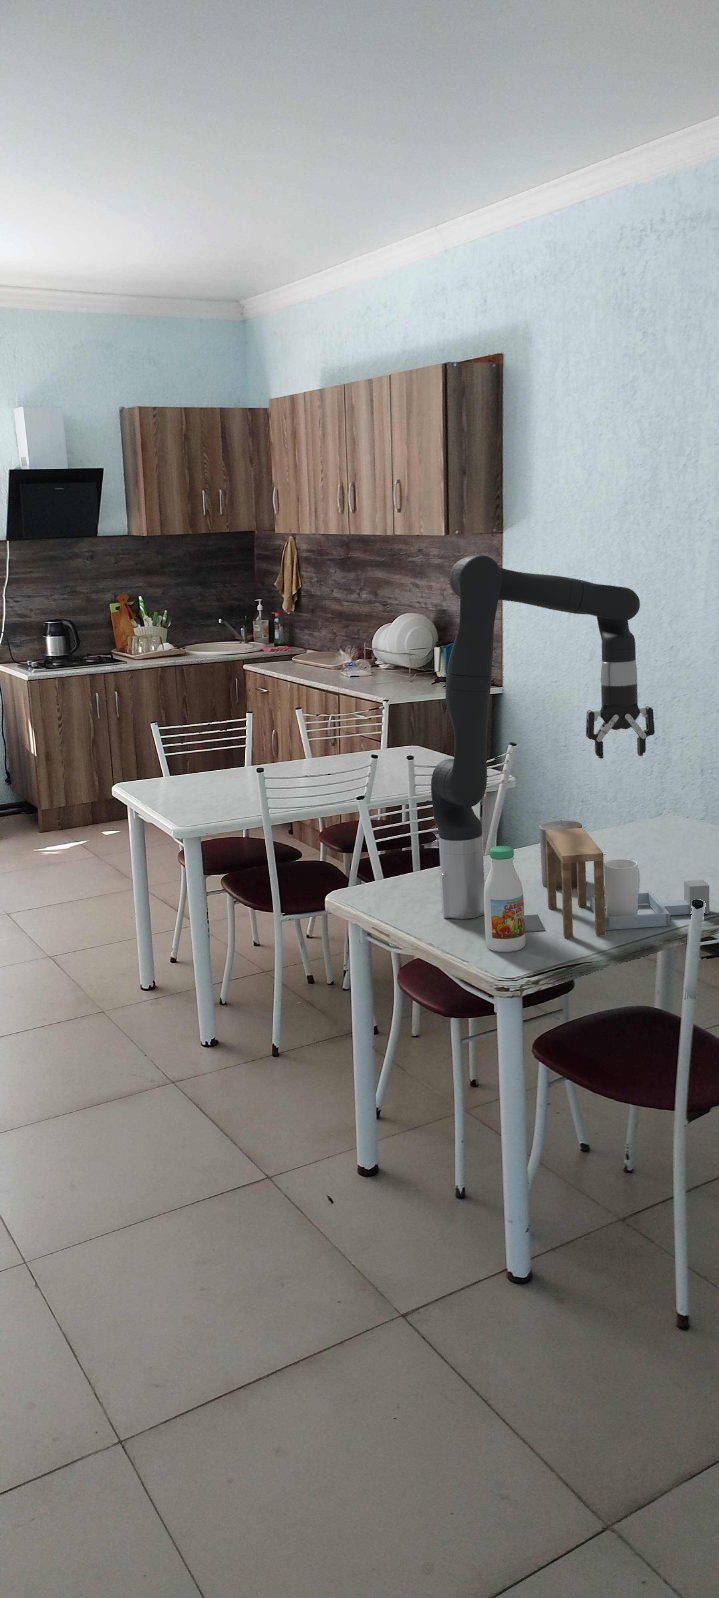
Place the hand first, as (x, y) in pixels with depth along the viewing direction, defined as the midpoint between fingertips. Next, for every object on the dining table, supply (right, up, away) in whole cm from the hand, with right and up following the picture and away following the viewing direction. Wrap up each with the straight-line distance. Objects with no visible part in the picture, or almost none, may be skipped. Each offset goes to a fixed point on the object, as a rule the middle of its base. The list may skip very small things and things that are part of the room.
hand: (620, 756), depth 252 cm
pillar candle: (-10, -29, +15) cm, 34 cm away
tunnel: (-12, -34, -11) cm, 38 cm away
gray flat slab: (-22, -35, -11) cm, 42 cm away
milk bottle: (-28, -38, -22) cm, 52 cm away
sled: (+4, -33, -11) cm, 35 cm away
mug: (-1, -34, -11) cm, 35 cm away
